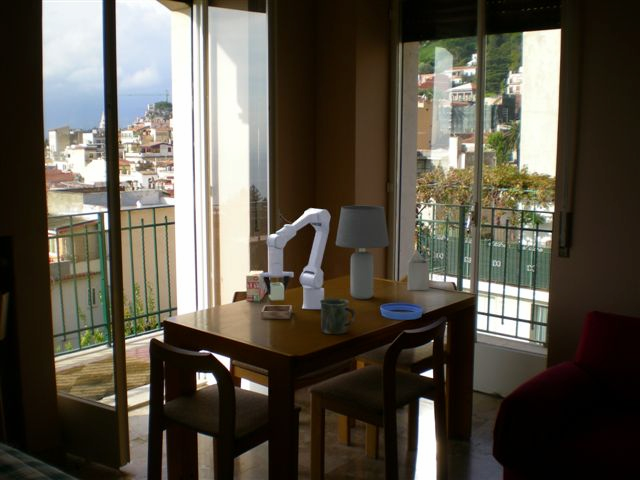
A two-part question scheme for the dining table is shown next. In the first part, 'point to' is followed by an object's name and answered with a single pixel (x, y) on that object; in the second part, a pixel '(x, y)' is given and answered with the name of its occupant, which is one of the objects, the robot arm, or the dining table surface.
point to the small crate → (276, 291)
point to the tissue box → (418, 273)
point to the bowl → (401, 311)
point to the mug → (335, 315)
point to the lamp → (362, 243)
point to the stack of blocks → (255, 286)
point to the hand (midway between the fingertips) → (276, 294)
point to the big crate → (276, 312)
